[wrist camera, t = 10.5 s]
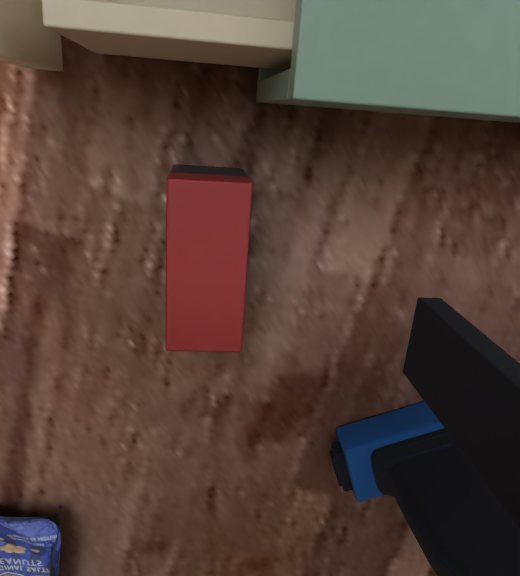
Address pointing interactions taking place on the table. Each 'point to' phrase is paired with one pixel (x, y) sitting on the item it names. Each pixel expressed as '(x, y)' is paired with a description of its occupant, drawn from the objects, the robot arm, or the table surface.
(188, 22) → the drawer
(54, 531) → the snack package
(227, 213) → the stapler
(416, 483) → the handheld scanner
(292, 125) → the table surface
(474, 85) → the cabinet
